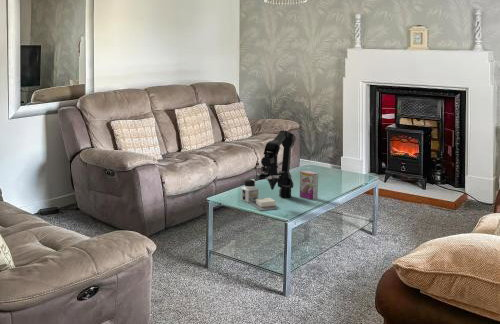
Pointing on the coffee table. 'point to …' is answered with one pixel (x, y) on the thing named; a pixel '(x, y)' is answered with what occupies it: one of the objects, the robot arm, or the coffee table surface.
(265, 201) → the cream rectangular block
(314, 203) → the coffee table surface
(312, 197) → the candy bar box
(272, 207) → the mat
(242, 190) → the container
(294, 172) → the coffee table surface
